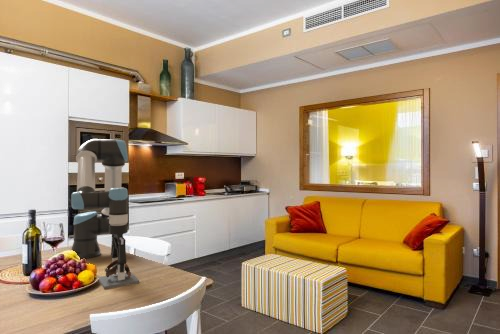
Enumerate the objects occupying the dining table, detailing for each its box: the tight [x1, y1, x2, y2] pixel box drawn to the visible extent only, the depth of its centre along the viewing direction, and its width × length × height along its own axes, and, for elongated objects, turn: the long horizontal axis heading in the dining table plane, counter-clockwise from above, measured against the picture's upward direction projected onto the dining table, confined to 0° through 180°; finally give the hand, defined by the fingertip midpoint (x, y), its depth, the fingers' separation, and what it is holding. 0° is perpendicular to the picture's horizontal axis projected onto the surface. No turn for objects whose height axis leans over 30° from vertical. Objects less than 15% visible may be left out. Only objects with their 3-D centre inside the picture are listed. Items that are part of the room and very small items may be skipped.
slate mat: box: [97, 271, 141, 290], centre depth 148 cm, size 14×14×1 cm
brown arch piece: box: [104, 260, 132, 278], centre depth 149 cm, size 12×10×8 cm
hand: (118, 276), depth 149 cm, fingers closed on brown arch piece, 10 cm apart
